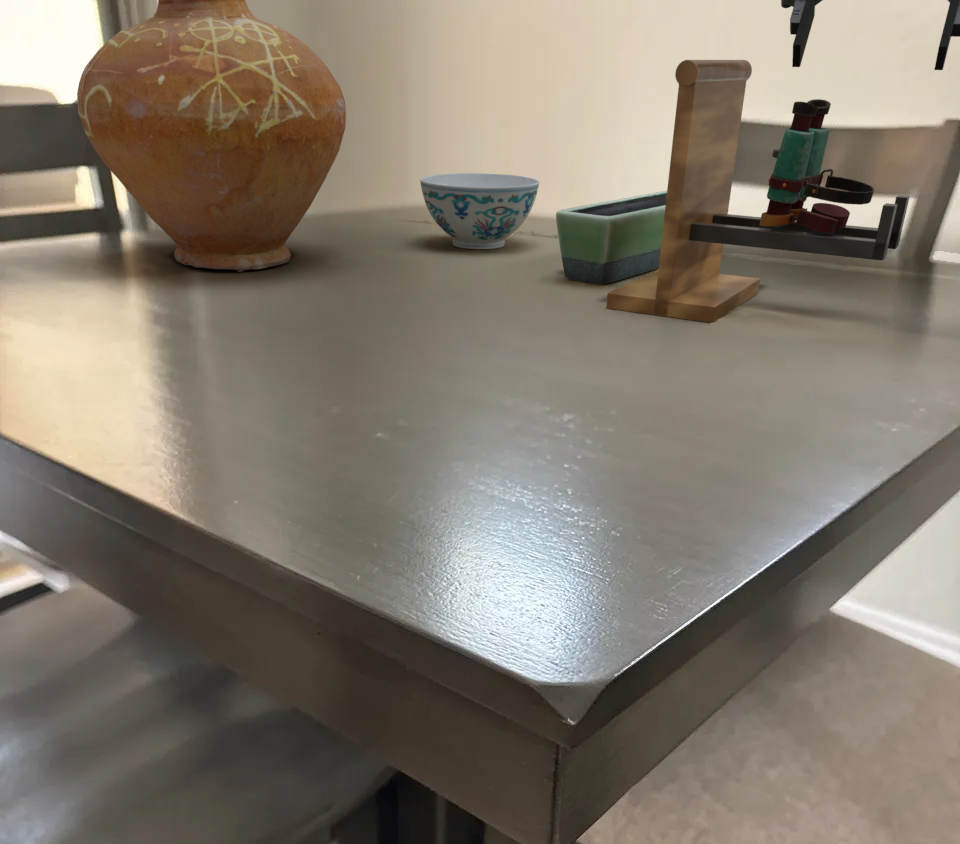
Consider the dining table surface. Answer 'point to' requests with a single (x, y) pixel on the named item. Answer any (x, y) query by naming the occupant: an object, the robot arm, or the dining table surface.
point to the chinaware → (479, 206)
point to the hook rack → (724, 208)
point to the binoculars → (809, 176)
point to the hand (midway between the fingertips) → (866, 57)
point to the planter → (612, 238)
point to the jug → (214, 128)
